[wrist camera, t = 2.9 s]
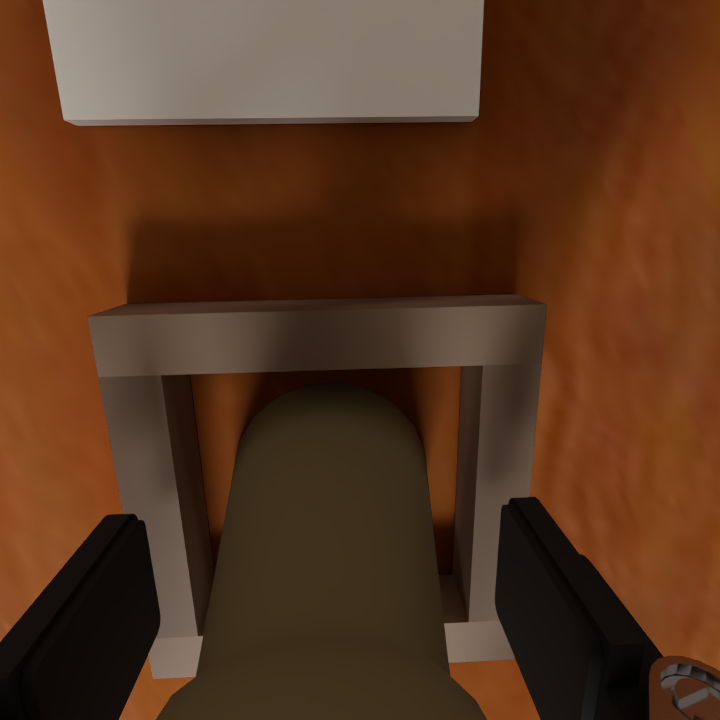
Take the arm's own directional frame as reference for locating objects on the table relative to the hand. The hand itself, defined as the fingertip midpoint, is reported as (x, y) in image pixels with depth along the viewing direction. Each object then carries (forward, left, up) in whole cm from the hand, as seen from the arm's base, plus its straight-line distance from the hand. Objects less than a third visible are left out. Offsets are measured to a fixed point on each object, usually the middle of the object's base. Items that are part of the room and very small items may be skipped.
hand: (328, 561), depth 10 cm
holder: (0, 0, -4) cm, 4 cm away
